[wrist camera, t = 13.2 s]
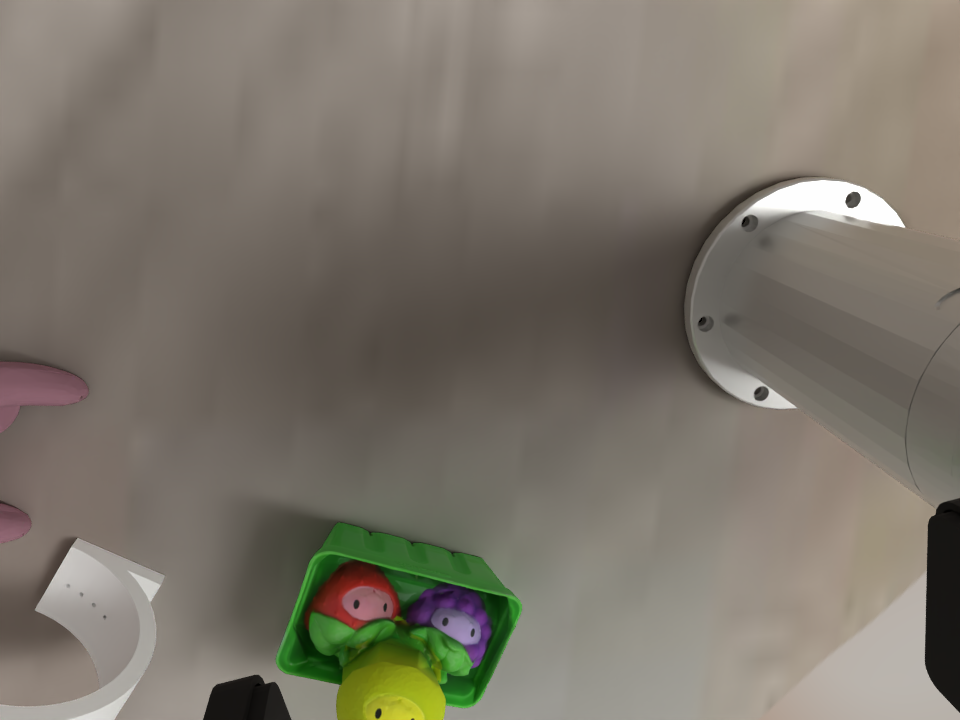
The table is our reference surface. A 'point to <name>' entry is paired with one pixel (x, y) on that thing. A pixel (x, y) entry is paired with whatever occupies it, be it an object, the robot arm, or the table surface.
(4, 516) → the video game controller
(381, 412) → the table surface
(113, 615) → the headphone stand
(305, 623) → the fruit basket
